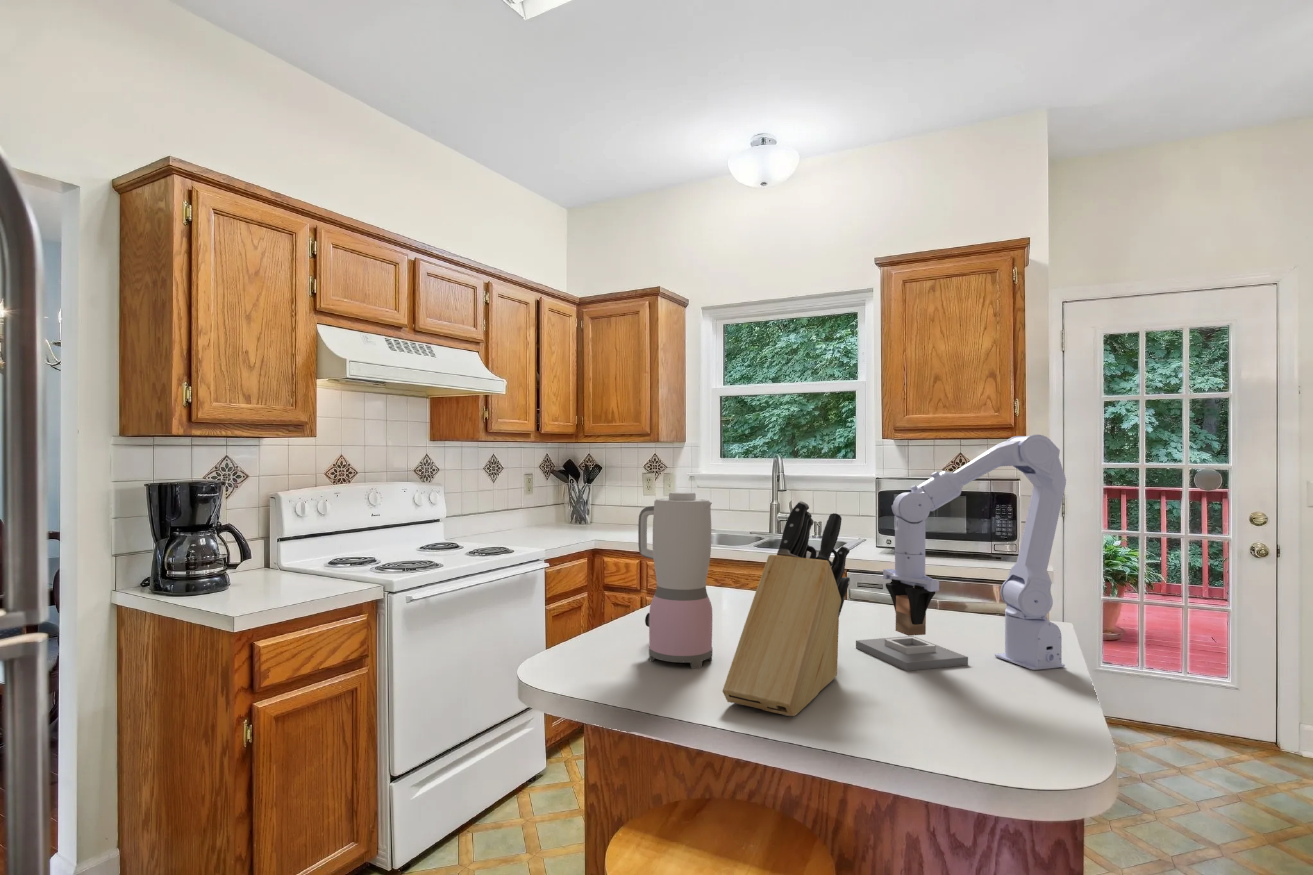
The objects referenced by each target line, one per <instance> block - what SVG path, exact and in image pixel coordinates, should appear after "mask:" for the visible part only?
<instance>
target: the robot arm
mask: <svg viewBox="0 0 1313 875" xmlns="http://www.w3.org/2000/svg"><path fill="white" fill-rule="evenodd" d="M1060 453H1061V452H1060V448H1058V447H1057V446H1056V444H1055V443H1054V442H1053V441H1052V440H1051V439H1050V438H1049V437H1047V436H1045V435H1042V434H1032V435H1026V436H1025V435H1015V436H1012V437H1009V438H1008V439H1007V440H1006V441H1002V442H1000V443H997V444H996V445H994V446H992V447H991V448H989V449H987V450H986V451H984V452H983V453H981V454H979V455H978V456H976V457H975V458H973V459H972V460H970V461H968V462H967V463H965V464H964V465H962V466H960V467H959V468H958V469H956V470H954V471H953V472H951V471H946V470H942V471H934V472H932V473H931V474H930V476H931V477H930V478H928V479H927V480H925V481H923V482H921V483H920V484H918V485H915V484H914V485H911V486H910V492H909V491H908V492H902V493H900V494H898V495H897V496H896V497H895V499H894V500H893V504H892V505H891V510H892V513H893V515H894V517H895V529H894V568H887V569H886V568H885V569H884V568H883V569H882V570H883V571H882V572H883V573H882V577H883V579H884V580H891V581H890V582H886V583H885V588H886V589H887V591H888V593H889V595H890V598H891V601H892V604H893V607H894V611H895V612H894V613H896V596H900V595H907V596H908V599H909V603H910V613H911V621H912V624H914V625H918V624H923V621H924V617H925V614H926V615H927V610H928V607H929V605H930V602H931V601H932V599H933V597H934V596H935V595H936V592H940V581H939V580H936V579H933V578H932V577H930V576H928V575H926V520H927V518H928V517H929V515H930V512H934V511H936V510H938V509H939V508H940V507H942V506H944V505H946V504H948V503H950V502H951V501H953V500H954V499H956V498H958V497H960V496H961V494H962V490H963V488H964V486H965V485H968V484H969V483H971V482H973V481H975V480H977V479H979V478H981V477H982V476H984V475H987V474H989V473H990V472H992V471H994V470H996V469H997V468H1000V467H1014V468H1016V470H1018V471H1020V472H1021V473H1023V475H1024V476H1025V477H1026V478H1027V479H1028V481H1029V482H1030V483H1031V484H1032V486H1033V487H1032V492H1031V496H1030V501H1029V506H1028V509H1027V514H1026V518H1025V519H1026V520H1025V523H1024V528H1023V531H1022V532H1023V533H1022V535H1021V536H1022V537H1021V542H1020V546H1019V551H1018V556H1017V560H1016V562H1015V563H1014V565H1013V566H1012V567H1011V568H1010V570H1009V573H1008V576H1007V578H1006V580H1005V581H1003V583H1002V584H1001V586H1000V590H999V594H1000V597H1001V600H1002V602H1004V604H1005V605H1006V608H1005V610H1004V612H1005V613H1004V652H1001V653H994V657H996V658H999V659H1002V660H1004V661H1007V662H1009V663H1012V664H1016V665H1018V666H1021V667H1024V668H1027V669H1029V670H1032V671H1035V670H1036V671H1038V670H1046V669H1048V670H1049V669H1056V668H1064V667H1066V666H1065V665H1066V664H1065V663H1062V657H1063V656H1062V652H1063V651H1062V648H1063V647H1062V646H1063V645H1062V632H1061V631H1062V630H1061V629H1060V627H1059V626H1058V625H1057V624H1056V623H1054V622H1052V621H1050V620H1049V619H1048V614H1049V612H1050V611H1051V610H1052V607H1053V603H1054V600H1053V595H1052V592H1051V588H1052V579H1051V577H1050V574H1049V572H1048V571H1049V570H1048V566H1049V563H1050V557H1051V553H1052V548H1053V545H1054V539H1055V534H1056V531H1057V526H1058V521H1059V516H1060V512H1061V509H1062V503H1063V498H1064V493H1065V489H1066V484H1067V478H1066V474H1065V472H1064V469H1063V465H1062V463H1061V459H1060Z"/></svg>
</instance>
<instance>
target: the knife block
mask: <svg viewBox="0 0 1313 875" xmlns="http://www.w3.org/2000/svg"><path fill="white" fill-rule="evenodd" d="M809 509H810V505H808V503H806V502H804V501H802V500H800V501H799V502H797V503H796V504H795V506H794V507H793V508H792V510H791V511H790V513H789V516H788V517H787V520H786V522H785V525H784V528H783V532H782V535H781V536H782V537H781V541H780V543H779V547H778V550H777V553H776V554H769V555H768V556H767V559H766V561H765V565H764V567H763V570H762V573H761V575H760V579H759V582H758V584H757V587H756V590H755V593H754V596H753V599H752V602H751V605H750V608H749V611H748V614H747V617H746V620H745V623H744V626H743V629H742V631H741V635H740V638H739V641H738V643H737V647H736V650H735V652H734V655H733V658H732V662H731V665H730V668H729V671H728V673H727V676H726V680H725V682H724V685H723V688H722V693H723V695H724V698H725V700H726V701H727V703H731V704H733V703H734V704H736V705H739V706H747V707H751V708H754V709H760V710H762V711H766V712H771V713H774V714H779V715H783V716H786V717H795V716H796V715H798V714H799V713H800V712H801V711H802V710H803V709H805V708H806V706H808V704H810V703H811V701H813V700H814V699H815V698H816V697H817V696H818V695H819V693H820V692H821V691H823V689H824V688H825V687H826V686H828V685H829V684H830V683H831V682H832V681H833V680H834V679H835V678H836V677H837V676H838V659H839V658H838V654H839V652H838V651H839V624H840V620H839V619H840V616H841V612H842V609H843V605H844V602H845V599H846V594H847V591H848V588H849V585H850V581H851V580H850V577H848V576H844V573H845V569H846V568H845V567H846V561H847V560H846V559H847V556H848V555H849V553H850V549H849V548H848V547H846V546H844V545H842V546H840V548H839V549H838V550H837V551H836V550H835V547H836V544H837V542H838V539H839V537H840V536H839V535H840V531H841V527H842V516H841V515H840V514H838V513H830V514H829V516H828V518H827V520H826V524H825V526H824V528H823V530H822V531H823V532H822V536H821V541H820V548H819V550H820V551H819V554H818V556H817V557H816V555H817V554H816V550H817V549H816V548H815V547H813V545H812V546H811V545H810V544H809V541H810V535H811V534H810V533H811V529H812V526H813V525H814V519H813V518H812V513H810V511H809ZM807 551H809V552H811V555H810V558H806V554H807ZM832 554H833V555H834V557H833V558H832V561H831V560H830V558H831V555H832ZM843 576H844V577H843Z"/></svg>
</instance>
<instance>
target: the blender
mask: <svg viewBox="0 0 1313 875" xmlns="http://www.w3.org/2000/svg"><path fill="white" fill-rule="evenodd" d="M696 495H697V494H696V493H695V492H692V491H691V492H690V491H688V492H687V491H672V492H669V493H668V497H667V498H665V497H662V498H656V499H655V500H654V501H653V502H654V504H653V505H652V506H651V505H649V506H645V507H644V508H643V509H642V510H641V511H640V512H639V515H638V521H637V522H638V524H637V526H638V527H637V531H638V533H637V537H638V538H637V539H638V540H637V541H638V551H639V553H640V555H641V556H642V557H643V558H644V557H645V558H646V559H647V558H648V559H650V560H653V565H654V574H655V578H656V588H655V589H656V590H655V591H654V592H655V593H654V595H653V597H652V599H651V602H650V606H649V612H647V613H646V616H645V619H644V623H645V626H647V628H648V630H649V633H648V638H649V641H648V642H649V645H648V658H649V661H650V662H654V661H655V659H657V660H660V661H663V662H664V661H665V662H669V663H670V662H671V663H690V668H691V669H699V668H701V667H703V666H702V665H703V661H705V660H708V661H712V659H713V605H712V602H711V599H710V597H709V594H708V591H707V578H708V573H709V568H710V567H709V566H710V561H711V552H712V510H711V509H712V508H711V506H712V504H713V502H711V501H710V500H709V499H704V498H696ZM651 515H652V516H653V517H652V549H650V548H648V517H649V516H651Z"/></svg>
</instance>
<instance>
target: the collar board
mask: <svg viewBox="0 0 1313 875" xmlns="http://www.w3.org/2000/svg"><path fill="white" fill-rule="evenodd" d="M855 648H856V649H858V650H860V651H861V652H864V653H866V654H869V655H871V656H873V657H875V658H877V659H879V660H882V661H884V662H886V663H888V664H890V665H892V666H895V667H896V668H899V669H901V670H904V671H906V672H909V671H920V670H931V669H940V668H949V667H952V668H953V667H960V666H962V667H963V666H969V656H966V655H964V654H962V653H959V652H956V651H953V650H950V649H949V648H946V647H942V646H940V645H938V644H935V643H932V642H930V641H927V640H925V639H921V638H919V637H917V636H915V635H912V636H908V635H906V636H895V637H894V636H893V637H882V638H871V639H859V640H858V639H857V640H855Z"/></svg>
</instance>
